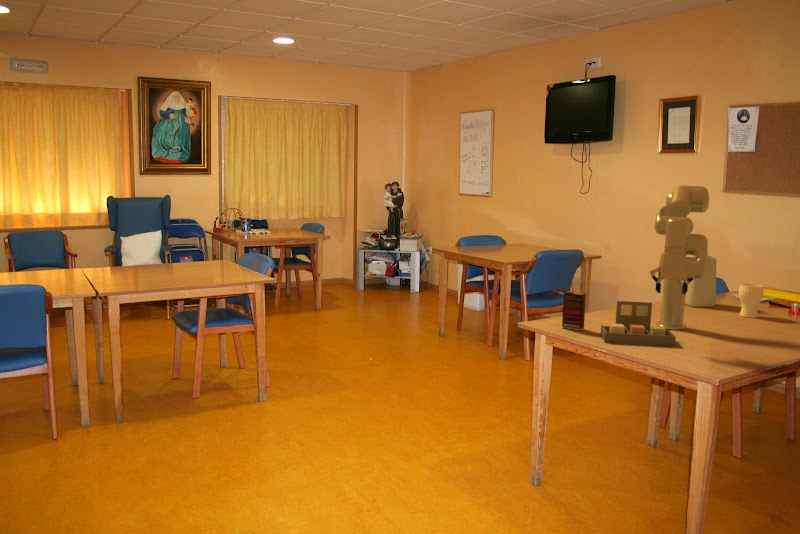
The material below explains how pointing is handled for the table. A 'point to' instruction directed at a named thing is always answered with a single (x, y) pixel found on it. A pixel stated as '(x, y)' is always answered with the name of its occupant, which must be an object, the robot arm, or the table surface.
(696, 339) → the table surface
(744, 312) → the cup
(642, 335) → the key pad frame
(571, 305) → the supplement box
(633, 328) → the terracotta key
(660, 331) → the olive square block
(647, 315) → the card
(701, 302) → the beige rounded canister
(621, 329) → the tan square block
